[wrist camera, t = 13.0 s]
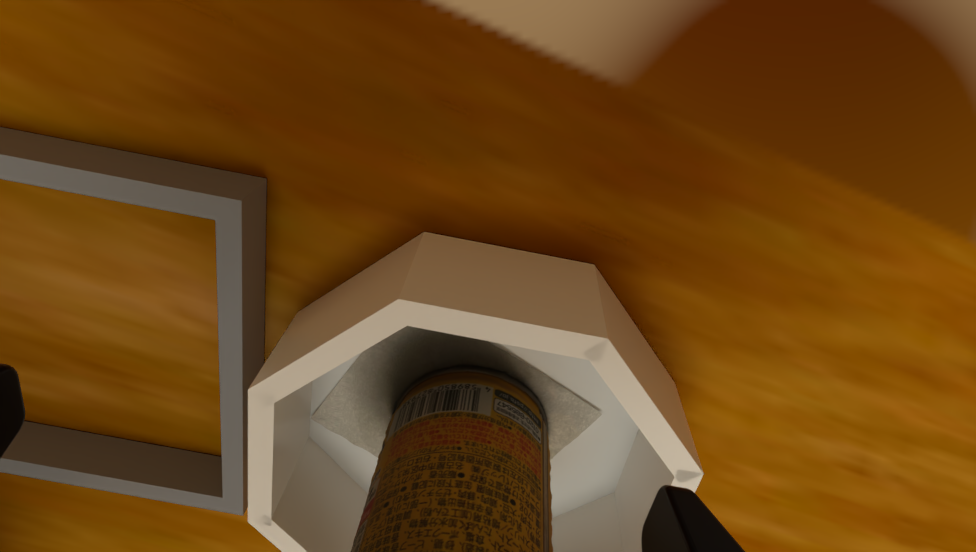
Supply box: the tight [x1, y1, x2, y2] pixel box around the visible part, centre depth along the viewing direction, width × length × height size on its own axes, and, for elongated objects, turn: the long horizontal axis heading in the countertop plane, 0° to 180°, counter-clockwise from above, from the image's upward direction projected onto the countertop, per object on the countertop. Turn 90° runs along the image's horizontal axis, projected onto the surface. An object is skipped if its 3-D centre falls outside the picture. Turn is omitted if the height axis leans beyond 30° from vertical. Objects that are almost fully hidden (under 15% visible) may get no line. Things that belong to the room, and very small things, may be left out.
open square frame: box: [0, 127, 267, 515], centre depth 23 cm, size 14×14×2 cm
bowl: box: [248, 232, 704, 552], centre depth 22 cm, size 14×14×4 cm
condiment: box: [311, 326, 602, 552], centre depth 19 cm, size 7×8×12 cm
